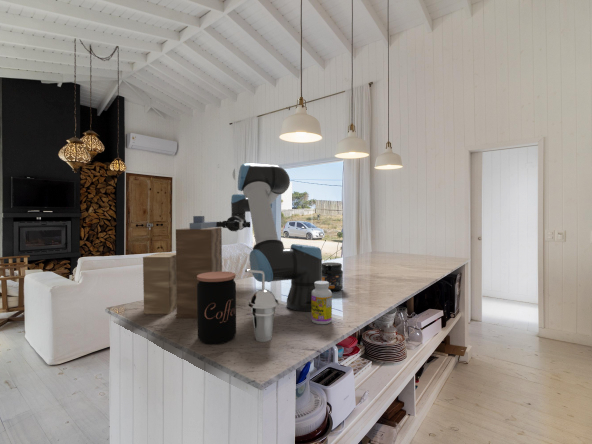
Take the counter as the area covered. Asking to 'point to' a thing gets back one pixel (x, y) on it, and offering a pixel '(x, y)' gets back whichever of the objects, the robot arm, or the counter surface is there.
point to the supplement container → (333, 275)
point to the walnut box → (195, 264)
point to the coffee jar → (216, 307)
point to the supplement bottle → (321, 303)
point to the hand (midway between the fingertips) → (225, 225)
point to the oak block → (159, 283)
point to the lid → (201, 223)
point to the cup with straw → (263, 311)
